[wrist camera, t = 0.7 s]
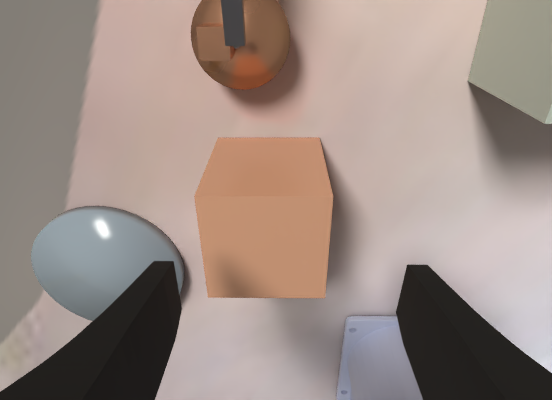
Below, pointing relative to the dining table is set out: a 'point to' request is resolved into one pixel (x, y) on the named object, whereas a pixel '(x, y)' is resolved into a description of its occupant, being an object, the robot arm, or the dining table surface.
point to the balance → (240, 41)
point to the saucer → (97, 256)
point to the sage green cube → (516, 55)
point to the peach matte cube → (265, 218)
